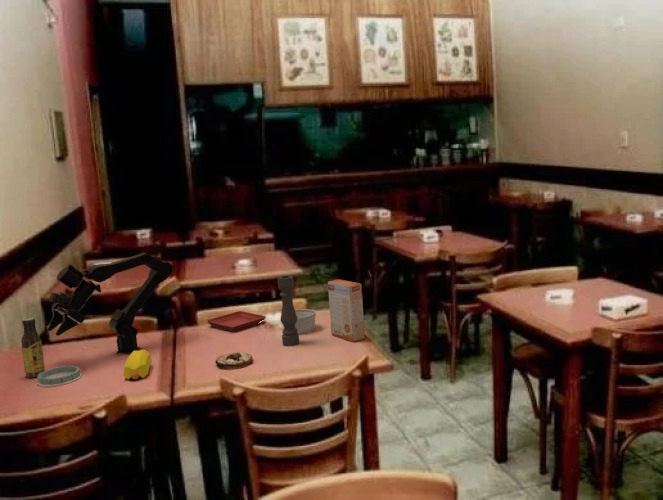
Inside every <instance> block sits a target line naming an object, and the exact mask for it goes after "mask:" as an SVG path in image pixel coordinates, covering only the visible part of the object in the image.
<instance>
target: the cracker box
mask: <svg viewBox="0 0 663 500" xmlns="http://www.w3.org/2000/svg"><path fill="white" fill-rule="evenodd" d="M327 287H328V288H327V289H328V290H327V291H328V303H329V316H330V317H329V319H330V331H331V333H330V334H331V336H334V337H337V338H340V339H343V340H345V341H350V342H352V343H354V342H357V341H362V340H365V337H366V335H365V320H364V318H365V317H364V307H363V306H364V305H363V288H362V287H363V286H362V283H360V282H354V281H349V280H344V279H334V280H329V281H327Z"/></svg>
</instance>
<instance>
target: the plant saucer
mask: <svg viewBox="0 0 663 500" xmlns="http://www.w3.org/2000/svg"><path fill="white" fill-rule="evenodd" d="M266 318H267V316H266V315H261V314H258V313H252V312H246V311H243V310H238V311H234V312H231V313H227V314H224V315H220V316H217V317H213V318H210V319H207V320H206V322H207V323H208V324H209V325H210V326H211V327H213V328H216V329H220V330H224V331H228V332H232V333H235V332H238V331H242V330H244V329H248V328H251V327H255V326H257V325H259V324H258V323H259V322H260V321H262V320H265V319H266Z"/></svg>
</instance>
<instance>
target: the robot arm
mask: <svg viewBox="0 0 663 500" xmlns="http://www.w3.org/2000/svg"><path fill="white" fill-rule="evenodd" d="M143 265H144V266H146V267H147V268H149V272H148V276H147V279H146V280H145V281H144V283H143V284H142V285H141V286H140V288H139V289H138V290H137V292H136V293H135V294H134V296H133V297H132V298H131V300H130V301H129V302H128V303H127V305H126V306H125V307H124V308H123V309H118V308H117V309H116V310H115V311H114V313H113V315H112V316H109V318H110V320H109V322H108V323H109V324H108V325H109V328H110V330H112V331H113V332H114V333H115V334H116V338H117V339H116V345H117V350H116V354H131V353H132V352H133V351H139V349H141V346H138V339H137V335H138V330H139V329H136V327H134V326H133V324H134V323H135V318H136V316H137V313H138V312H139V311H140V309H141V308H142V307H143V305H144V304H145V303H146V302H147V300H148V299H149V297H151V295H152V294H153V292H154V291H155V289H156V288H157V287H158V286H159V285H160V284H161V283H163V282H164V281H166V280H167V279H168V278H169V277H171V275H172V274H173V273H174V267H173V265H172V263H171V262H169V261H164V260H160V259H158V258H156V257H154V256H152V255H151V254H149V253H146V252H141V253H139V254H136V255H133V256H130V257H127V258H122V259H119V260H118V261H114V262H109V263H99V264H92V265H90V266H88V268H87V269H85V270H82V271H80V270H78V269H77V268H75V266H73V265H72V264H67V266H66V267H64V268H62V270H60V271H59V272H58V274H57V275H56V280H57V281H58V282H60V283H61V284H63V285H64V286H65V287H67V288H69V289H72V288H74V290H73V291H72V292H69V293H68V294H67V293H65V292H59V293H57V292H53V291H52V292H50V296H49V297H48V302H50V303H52V305H51V312H52V317H51V320H50V322H49V325H48V327H47V331H49V332H51V331H53V330H54V329H56V328H57V327H58V329H57V330H56V333H55V335H56V336H57V337H59V336H61V335H62V334H64V333H66V332H67V331H69V330H71V329H73V328H74V327H76V326H80V324H83V323H84V321H85V320H86V318H85V315H84V314H82V313H81V312H80V311H81V310H82V308H83V307H84V306H87V305H88V303H87V302H88V300H89V299H90V298H91V297H92V295H93V294H94V292H98V293H102V288H101V284H99V283H103V282H105V281H107V280H108V279H110V278H112V277H114V275H116V274H119V273H122V272H125V271H127V270H131V269H134V268H137V267H140V266H143ZM94 282H97V283H98V284H96V283H94Z"/></svg>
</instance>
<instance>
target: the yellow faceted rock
mask: <svg viewBox="0 0 663 500" xmlns="http://www.w3.org/2000/svg"><path fill="white" fill-rule="evenodd" d="M152 360H153V359H152V358H151V354H150V352H148V351H147V350H145V349H141V350H136V351H133V352H132V353H129V356H127V358H126V362H125V364H124V366H123V368H124V369H123V377H124V378H126V379H127V380H128V381H129V380H131V378H132V379H133V380H138V379H139V378H143V379H144V378H145V377H146V376H147V375H148V374H149V370H150V366H151V364H152V362H153V361H152Z"/></svg>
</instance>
